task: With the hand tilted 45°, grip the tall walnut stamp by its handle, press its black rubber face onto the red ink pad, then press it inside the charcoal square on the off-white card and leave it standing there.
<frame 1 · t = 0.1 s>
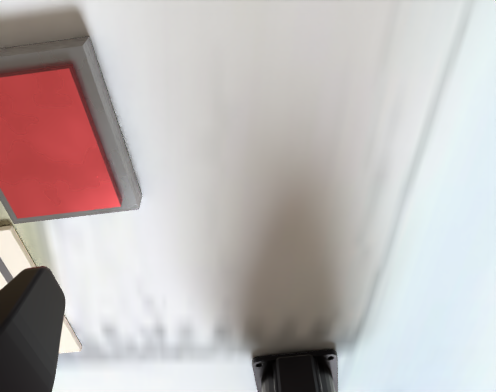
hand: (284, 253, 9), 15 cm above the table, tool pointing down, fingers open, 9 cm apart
ink pad: (51, 134, 23), on the table
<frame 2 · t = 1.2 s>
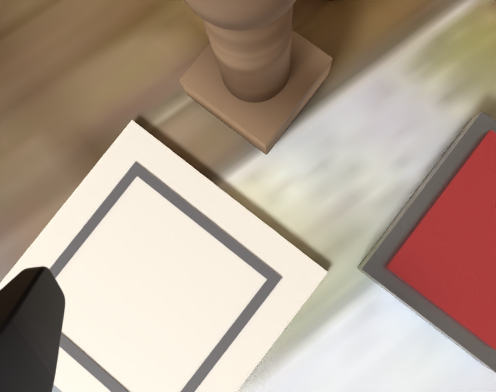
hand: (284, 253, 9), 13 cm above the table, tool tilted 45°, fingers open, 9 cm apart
card: (150, 292, 22), on the table
stamp: (258, 91, 23), on the table
ink pad: (477, 238, 21), on the table
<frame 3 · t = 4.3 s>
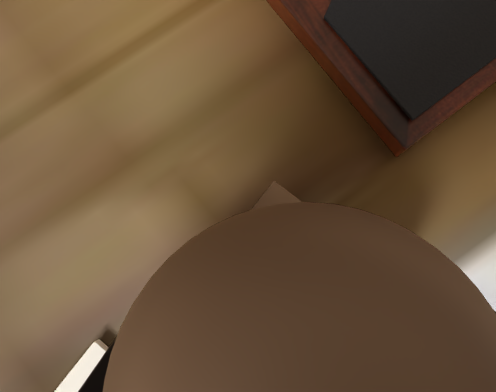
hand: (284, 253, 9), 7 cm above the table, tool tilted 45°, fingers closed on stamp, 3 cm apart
stamp: (287, 295, 15), on the table, touching gripper
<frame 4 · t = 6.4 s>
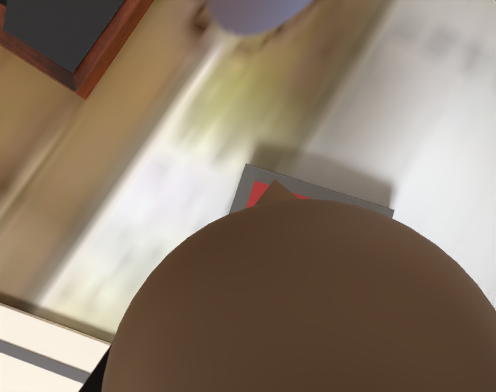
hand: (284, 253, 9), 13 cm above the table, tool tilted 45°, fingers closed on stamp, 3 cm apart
stamp: (288, 294, 15), point 7 cm above the table, touching gripper
ink pad: (288, 279, 22), on the table
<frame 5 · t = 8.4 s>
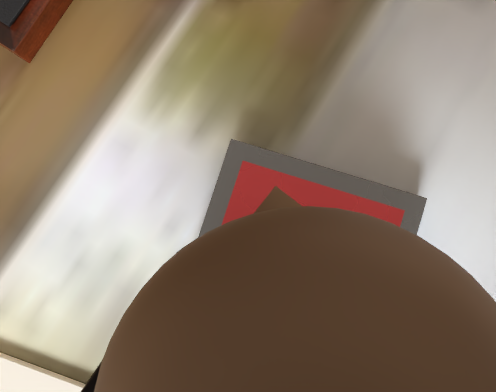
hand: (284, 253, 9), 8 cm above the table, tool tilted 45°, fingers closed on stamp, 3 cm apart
stamp: (289, 303, 15), point 2 cm above the table, touching gripper
ink pad: (287, 290, 17), on the table
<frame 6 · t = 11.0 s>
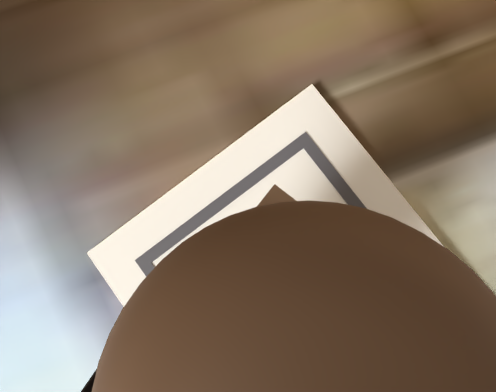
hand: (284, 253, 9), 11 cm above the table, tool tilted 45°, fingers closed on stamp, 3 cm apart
card: (285, 282, 19), on the table
stamp: (288, 302, 15), point 5 cm above the table, touching gripper
when the fingers open (7 cm above the table, at t = 13.0 s): stamp stays where it is, resting on card.
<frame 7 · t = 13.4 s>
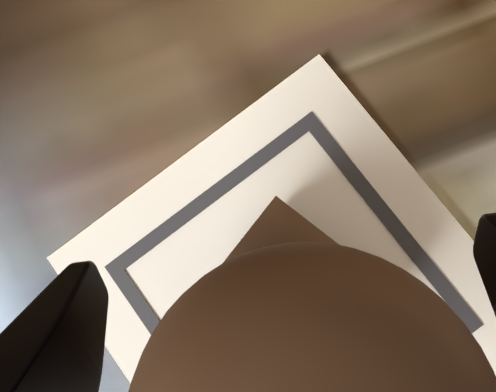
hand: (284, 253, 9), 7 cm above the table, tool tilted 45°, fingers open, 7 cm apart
card: (287, 293, 16), on the table
stamp: (288, 305, 15), resting on card
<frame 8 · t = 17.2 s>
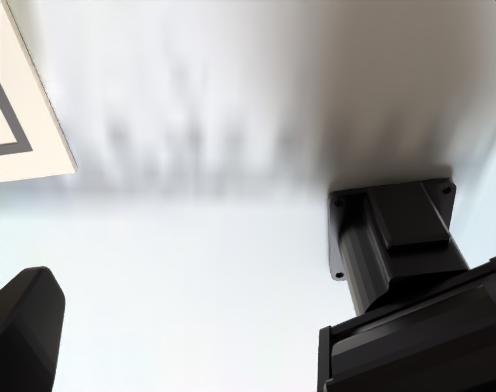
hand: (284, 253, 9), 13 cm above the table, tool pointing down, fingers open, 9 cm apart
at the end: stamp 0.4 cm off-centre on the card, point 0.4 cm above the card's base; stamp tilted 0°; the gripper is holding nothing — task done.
